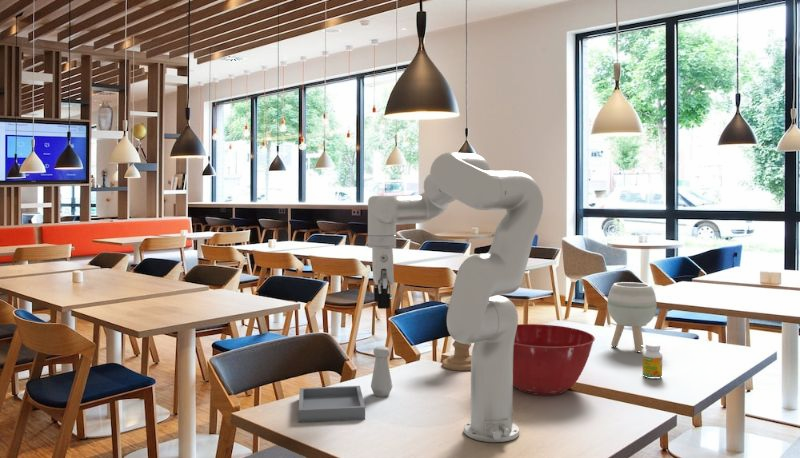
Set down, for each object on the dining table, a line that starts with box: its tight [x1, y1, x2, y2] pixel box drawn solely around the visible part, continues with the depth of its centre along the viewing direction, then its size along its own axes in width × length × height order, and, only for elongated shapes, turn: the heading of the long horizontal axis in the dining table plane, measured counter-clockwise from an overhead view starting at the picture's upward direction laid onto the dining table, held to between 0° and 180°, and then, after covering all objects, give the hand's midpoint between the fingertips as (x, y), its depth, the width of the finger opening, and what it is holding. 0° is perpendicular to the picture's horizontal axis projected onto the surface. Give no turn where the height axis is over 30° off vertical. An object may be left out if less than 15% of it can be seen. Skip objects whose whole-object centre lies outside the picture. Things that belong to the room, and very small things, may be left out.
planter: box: [606, 281, 658, 352], centre depth 236 cm, size 16×16×22 cm
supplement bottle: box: [642, 342, 663, 377], centre depth 201 cm, size 5×5×10 cm
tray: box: [298, 385, 366, 423], centre depth 173 cm, size 18×16×3 cm
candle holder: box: [441, 300, 472, 372], centre depth 214 cm, size 12×12×20 cm
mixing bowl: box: [513, 323, 596, 396], centre depth 190 cm, size 28×28×16 cm
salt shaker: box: [370, 345, 393, 398], centre depth 185 cm, size 6×6×13 cm
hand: (381, 305), depth 184 cm, fingers open, 9 cm apart
